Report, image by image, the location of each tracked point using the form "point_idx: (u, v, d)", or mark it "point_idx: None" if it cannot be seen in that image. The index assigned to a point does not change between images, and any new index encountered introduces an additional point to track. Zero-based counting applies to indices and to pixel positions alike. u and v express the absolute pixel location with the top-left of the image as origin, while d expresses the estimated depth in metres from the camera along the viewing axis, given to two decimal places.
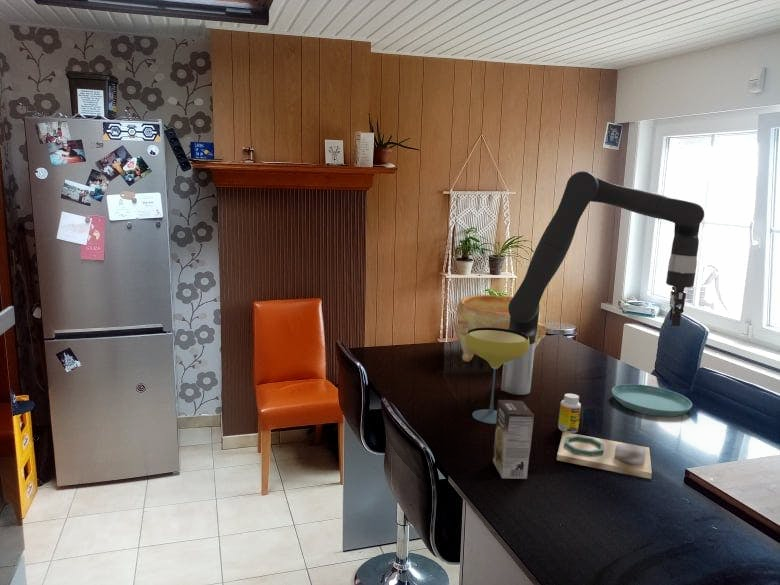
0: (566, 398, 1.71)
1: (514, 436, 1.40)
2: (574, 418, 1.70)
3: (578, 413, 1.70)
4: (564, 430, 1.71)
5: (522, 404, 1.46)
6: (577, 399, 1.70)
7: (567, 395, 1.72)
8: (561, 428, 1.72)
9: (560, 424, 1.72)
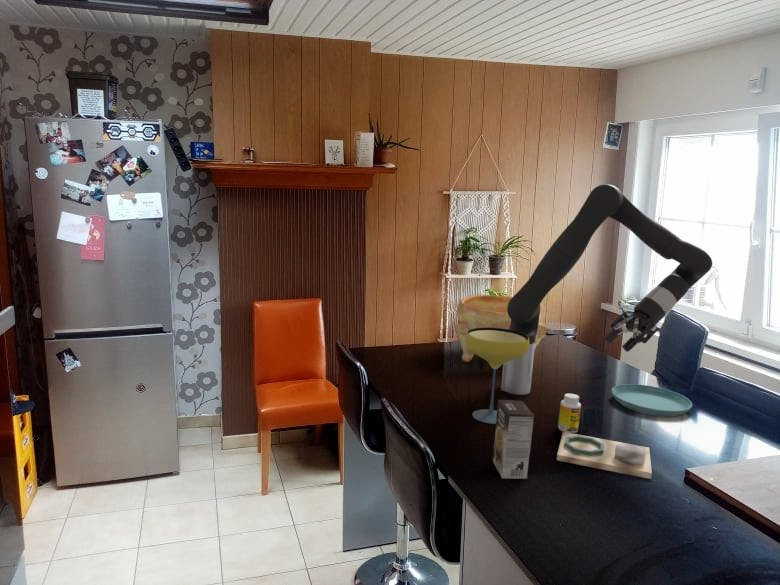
0: (566, 398, 1.71)
1: (514, 436, 1.40)
2: (574, 418, 1.70)
3: (578, 413, 1.70)
4: (564, 430, 1.71)
5: (522, 404, 1.46)
6: (577, 399, 1.70)
7: (567, 395, 1.72)
8: (561, 428, 1.72)
9: (560, 424, 1.72)
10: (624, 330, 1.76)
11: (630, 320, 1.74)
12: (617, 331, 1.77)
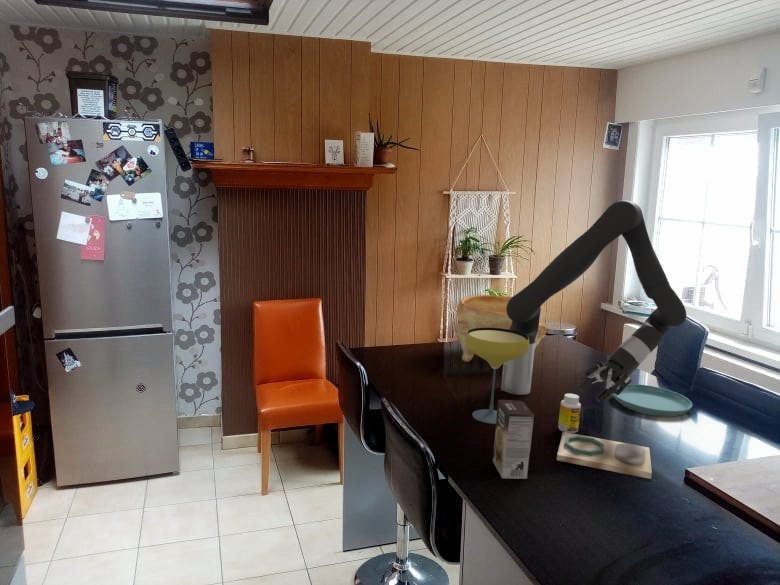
0: (566, 398, 1.71)
1: (514, 436, 1.40)
2: (574, 418, 1.70)
3: (578, 413, 1.70)
4: (564, 430, 1.71)
5: (522, 404, 1.46)
6: (577, 399, 1.70)
7: (567, 395, 1.72)
8: (561, 428, 1.72)
9: (560, 424, 1.72)
10: (598, 379, 1.77)
11: (604, 370, 1.74)
12: (592, 380, 1.77)
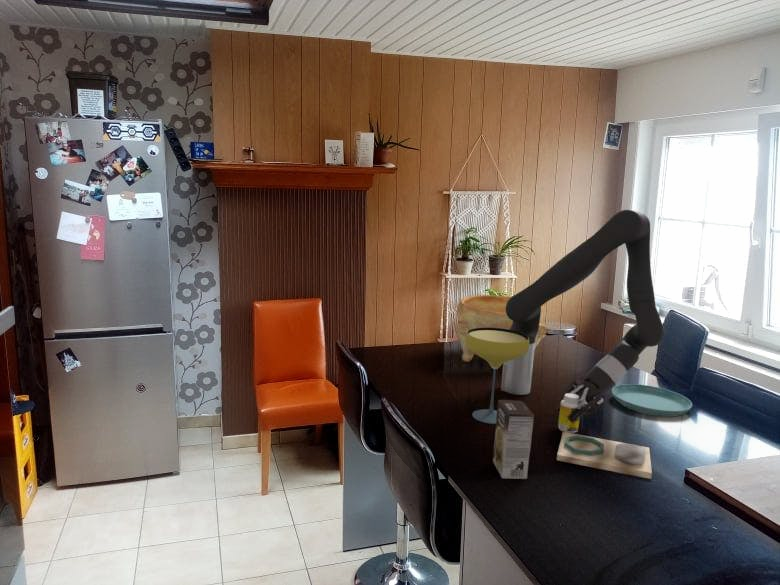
0: (566, 398, 1.71)
1: (514, 436, 1.40)
2: None
3: None
4: (564, 430, 1.71)
5: (522, 404, 1.46)
6: (577, 399, 1.70)
7: (567, 395, 1.72)
8: (561, 428, 1.72)
9: (560, 424, 1.72)
10: None
11: (581, 389, 1.73)
12: None
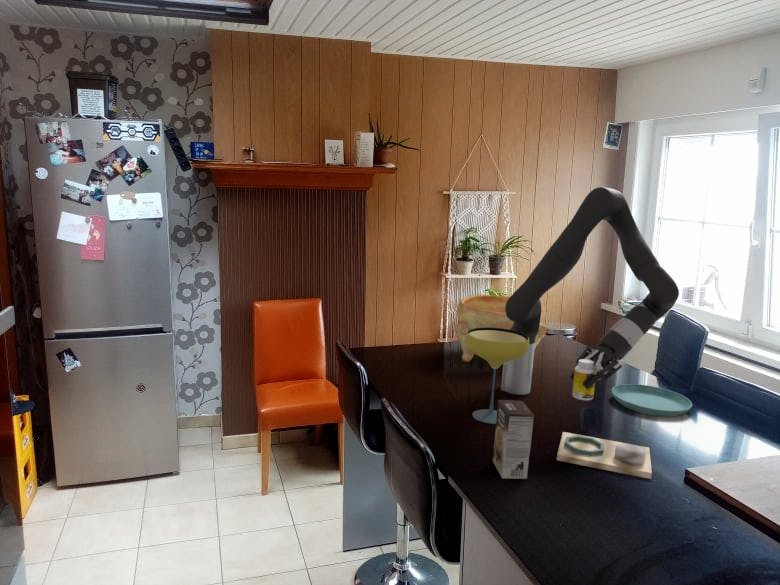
0: (580, 363, 1.62)
1: (514, 436, 1.40)
2: None
3: None
4: (579, 397, 1.62)
5: (522, 404, 1.46)
6: (592, 364, 1.61)
7: (581, 360, 1.63)
8: (576, 395, 1.63)
9: (574, 391, 1.63)
10: None
11: (596, 354, 1.64)
12: None
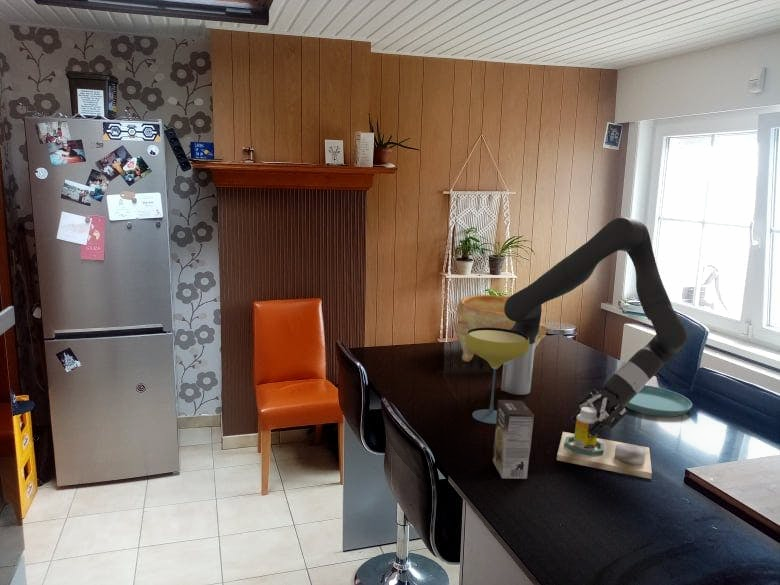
0: (583, 412, 1.56)
1: (514, 436, 1.40)
2: None
3: None
4: (580, 447, 1.56)
5: (522, 404, 1.46)
6: (595, 413, 1.55)
7: (584, 409, 1.57)
8: (577, 445, 1.57)
9: (576, 441, 1.57)
10: None
11: (598, 399, 1.58)
12: None
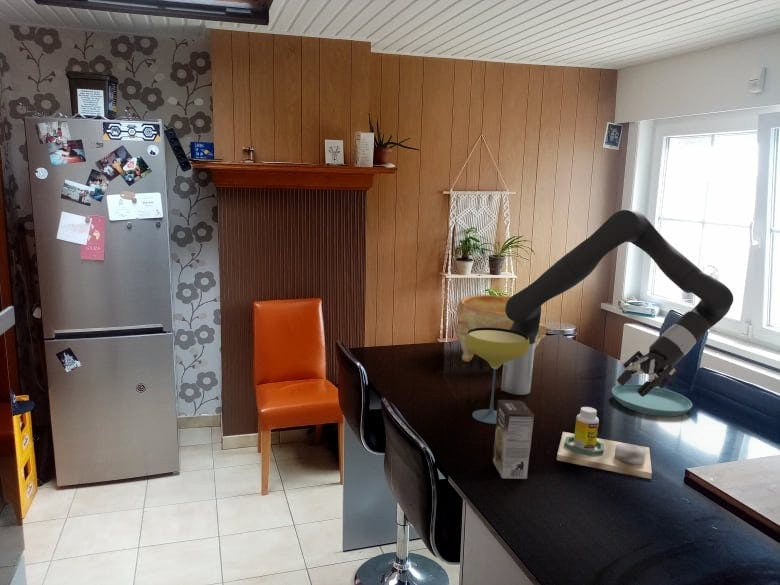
0: (583, 412, 1.56)
1: (514, 436, 1.40)
2: (591, 434, 1.55)
3: (596, 429, 1.56)
4: (581, 447, 1.56)
5: (522, 404, 1.46)
6: (595, 413, 1.56)
7: (584, 409, 1.57)
8: (577, 445, 1.57)
9: (576, 441, 1.57)
10: (638, 371, 1.62)
11: (645, 361, 1.60)
12: (631, 372, 1.63)
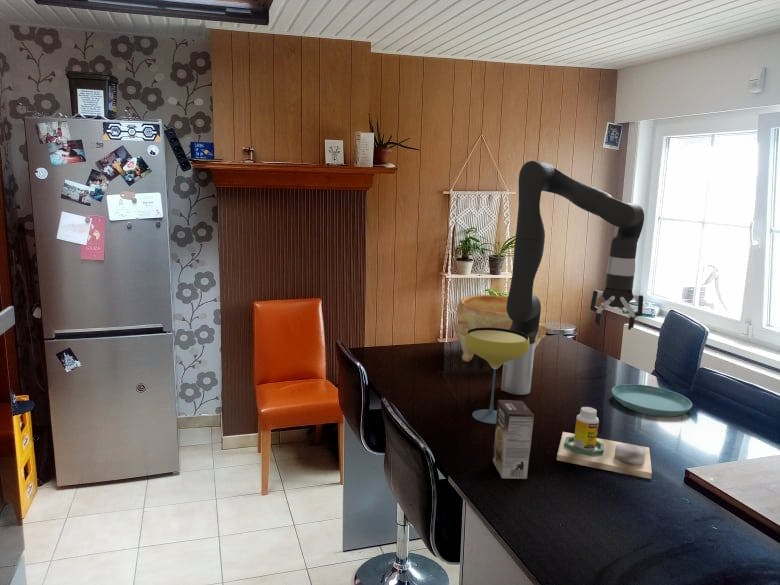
0: (583, 412, 1.56)
1: (514, 436, 1.40)
2: (592, 434, 1.55)
3: (596, 429, 1.56)
4: (581, 447, 1.56)
5: (522, 404, 1.46)
6: (595, 413, 1.56)
7: (584, 409, 1.57)
8: (577, 445, 1.57)
9: (576, 441, 1.57)
10: None
11: (613, 300, 1.77)
12: (600, 311, 1.80)
